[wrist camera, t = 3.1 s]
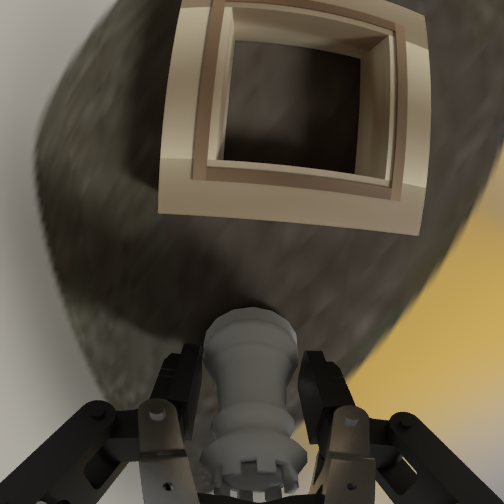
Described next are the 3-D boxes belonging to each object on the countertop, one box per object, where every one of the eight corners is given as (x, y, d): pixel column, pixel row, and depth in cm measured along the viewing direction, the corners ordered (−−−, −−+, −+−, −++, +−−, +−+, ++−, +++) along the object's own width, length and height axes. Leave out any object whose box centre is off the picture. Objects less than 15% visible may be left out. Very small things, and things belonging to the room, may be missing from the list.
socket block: (199, 9, 9) (187, -27, 6) (393, 38, 10) (425, 15, 7) (178, 201, 12) (157, 213, 9) (384, 220, 12) (419, 236, 9)
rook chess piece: (191, 358, 14) (159, 495, 6) (226, 286, 13) (205, 430, 5) (270, 386, 15) (283, 518, 7) (312, 322, 14) (365, 460, 6)
